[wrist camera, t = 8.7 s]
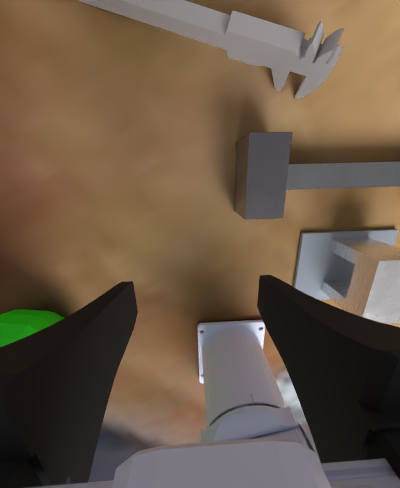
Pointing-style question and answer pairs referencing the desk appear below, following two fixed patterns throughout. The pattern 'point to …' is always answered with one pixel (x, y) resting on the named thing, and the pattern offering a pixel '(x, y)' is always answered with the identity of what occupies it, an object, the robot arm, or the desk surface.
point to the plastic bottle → (24, 323)
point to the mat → (329, 258)
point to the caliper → (241, 38)
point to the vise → (293, 174)
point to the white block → (367, 279)
